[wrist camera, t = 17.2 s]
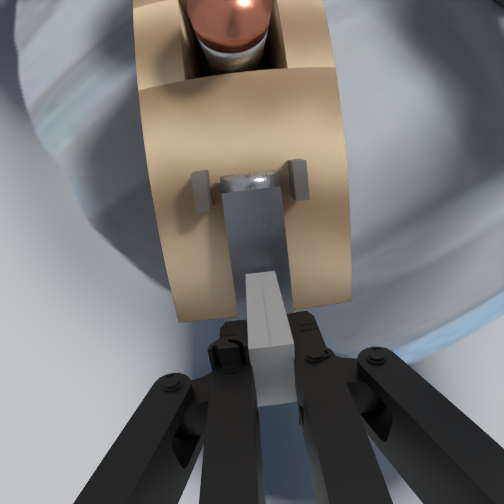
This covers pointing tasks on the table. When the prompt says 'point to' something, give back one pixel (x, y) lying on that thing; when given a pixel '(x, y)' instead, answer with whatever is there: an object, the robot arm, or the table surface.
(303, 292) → the hitch block
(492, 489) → the robot arm
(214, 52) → the silver copper rod
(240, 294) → the lever
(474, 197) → the table surface
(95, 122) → the table surface
